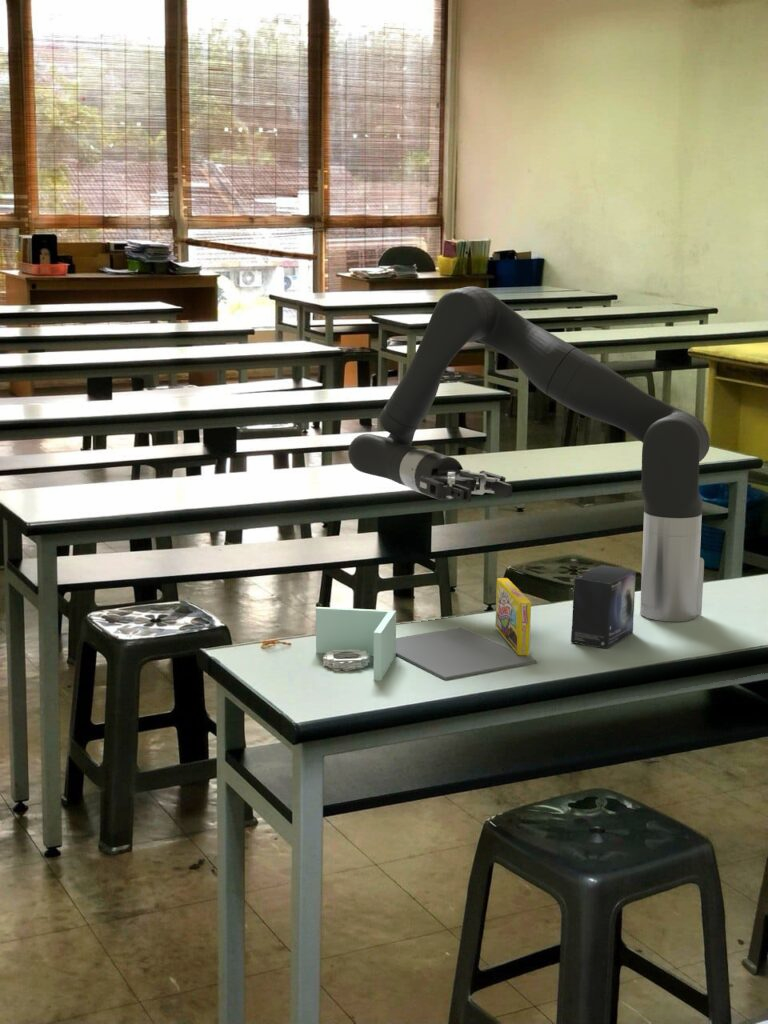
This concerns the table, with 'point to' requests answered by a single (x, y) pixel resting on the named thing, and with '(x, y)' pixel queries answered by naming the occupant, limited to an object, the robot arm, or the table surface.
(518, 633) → the candy box
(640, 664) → the table surface
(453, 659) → the mat
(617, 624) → the small box
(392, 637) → the right angle wall
